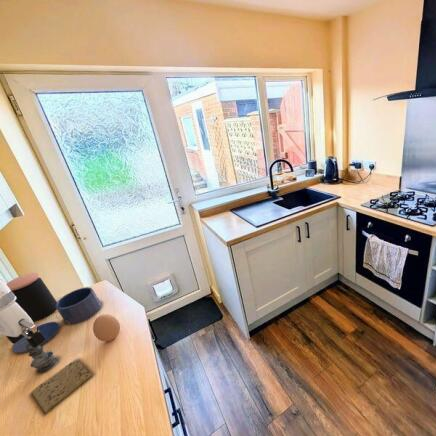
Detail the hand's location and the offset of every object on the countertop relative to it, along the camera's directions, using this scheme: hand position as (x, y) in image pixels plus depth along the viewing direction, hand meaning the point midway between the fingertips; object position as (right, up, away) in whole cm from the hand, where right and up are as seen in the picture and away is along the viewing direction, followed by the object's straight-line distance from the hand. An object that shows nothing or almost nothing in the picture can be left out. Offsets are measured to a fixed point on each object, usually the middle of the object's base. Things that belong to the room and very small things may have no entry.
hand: (29, 341), depth 79 cm
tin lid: (-14, -6, +16) cm, 23 cm away
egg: (+17, -5, +13) cm, 22 cm away
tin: (-5, -1, +27) cm, 28 cm away
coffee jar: (-25, -2, +30) cm, 39 cm away
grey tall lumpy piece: (+1, -11, +5) cm, 12 cm away
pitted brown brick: (+13, -13, -2) cm, 18 cm away
